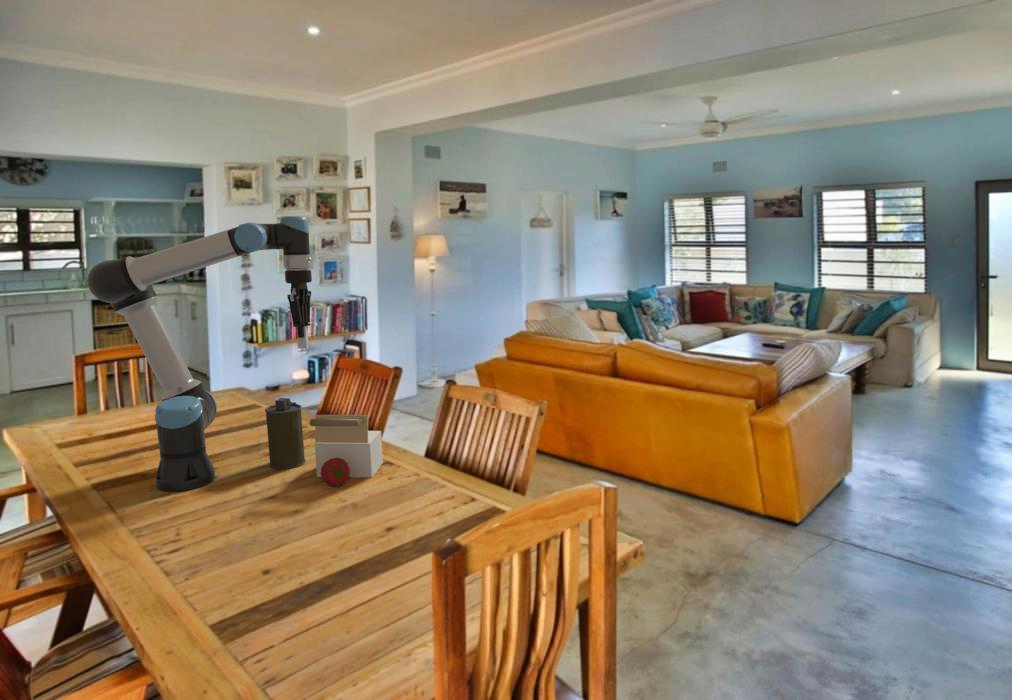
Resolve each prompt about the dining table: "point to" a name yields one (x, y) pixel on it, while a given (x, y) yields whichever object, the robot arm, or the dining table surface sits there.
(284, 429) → the canister
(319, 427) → the flap
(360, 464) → the carton
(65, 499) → the dining table surface
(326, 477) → the tomato
